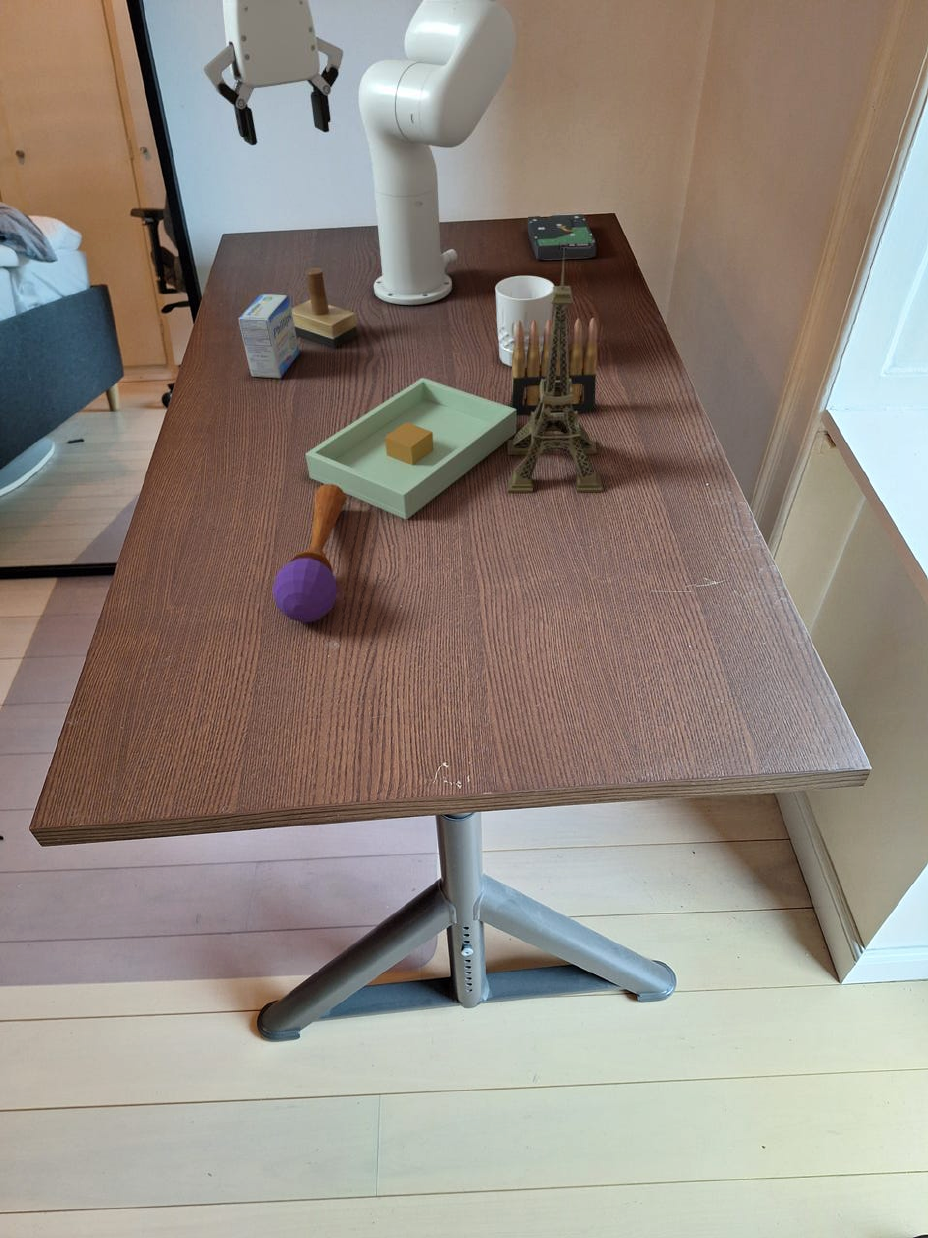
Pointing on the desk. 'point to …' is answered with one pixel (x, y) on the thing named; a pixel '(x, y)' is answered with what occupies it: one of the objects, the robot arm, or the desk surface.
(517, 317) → the white cup
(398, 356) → the desk surface
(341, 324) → the brush
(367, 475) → the tray
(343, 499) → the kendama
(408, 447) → the wooden block
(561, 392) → the eiffel tower
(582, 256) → the disk drive
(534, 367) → the ammunition clip
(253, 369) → the medicine box
